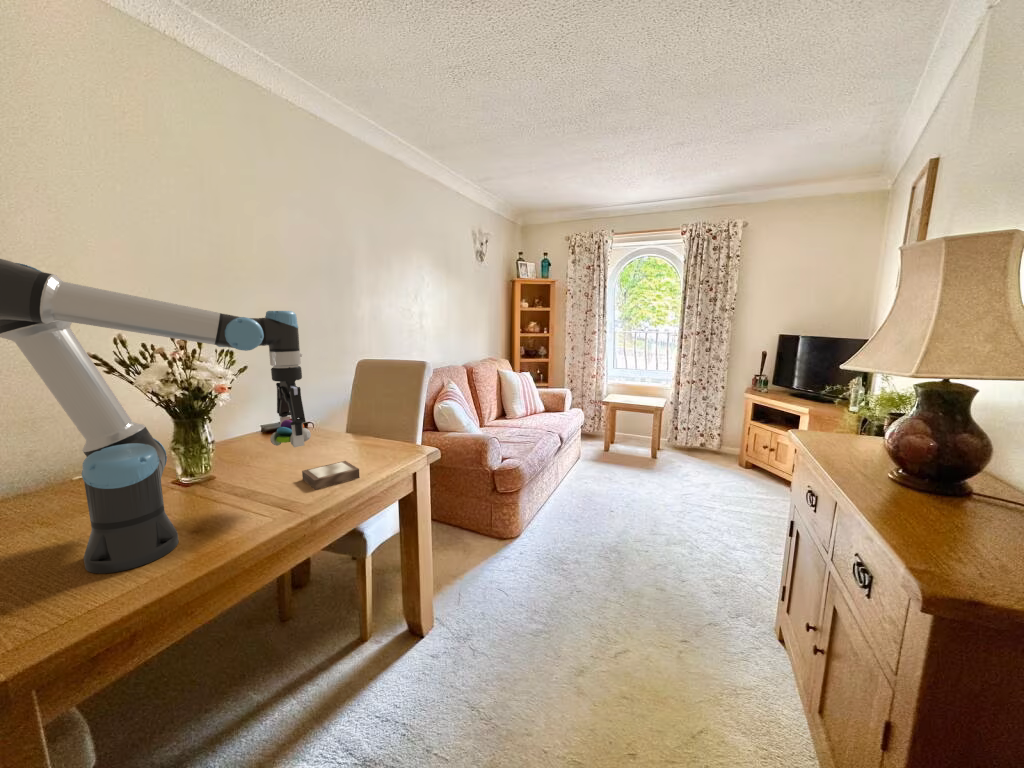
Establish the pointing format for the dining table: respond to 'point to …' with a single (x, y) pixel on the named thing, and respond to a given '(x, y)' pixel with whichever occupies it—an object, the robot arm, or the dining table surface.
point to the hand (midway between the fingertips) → (292, 441)
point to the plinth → (330, 474)
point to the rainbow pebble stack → (287, 433)
